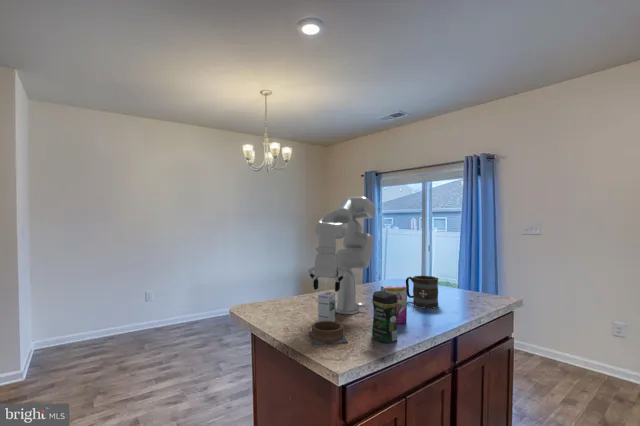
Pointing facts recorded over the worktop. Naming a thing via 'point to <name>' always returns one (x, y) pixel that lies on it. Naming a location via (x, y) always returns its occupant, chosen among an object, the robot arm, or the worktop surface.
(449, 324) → the worktop surface
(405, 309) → the candy bar box
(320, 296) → the syrup box
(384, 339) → the coffee jar
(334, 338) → the collar
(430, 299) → the mug
